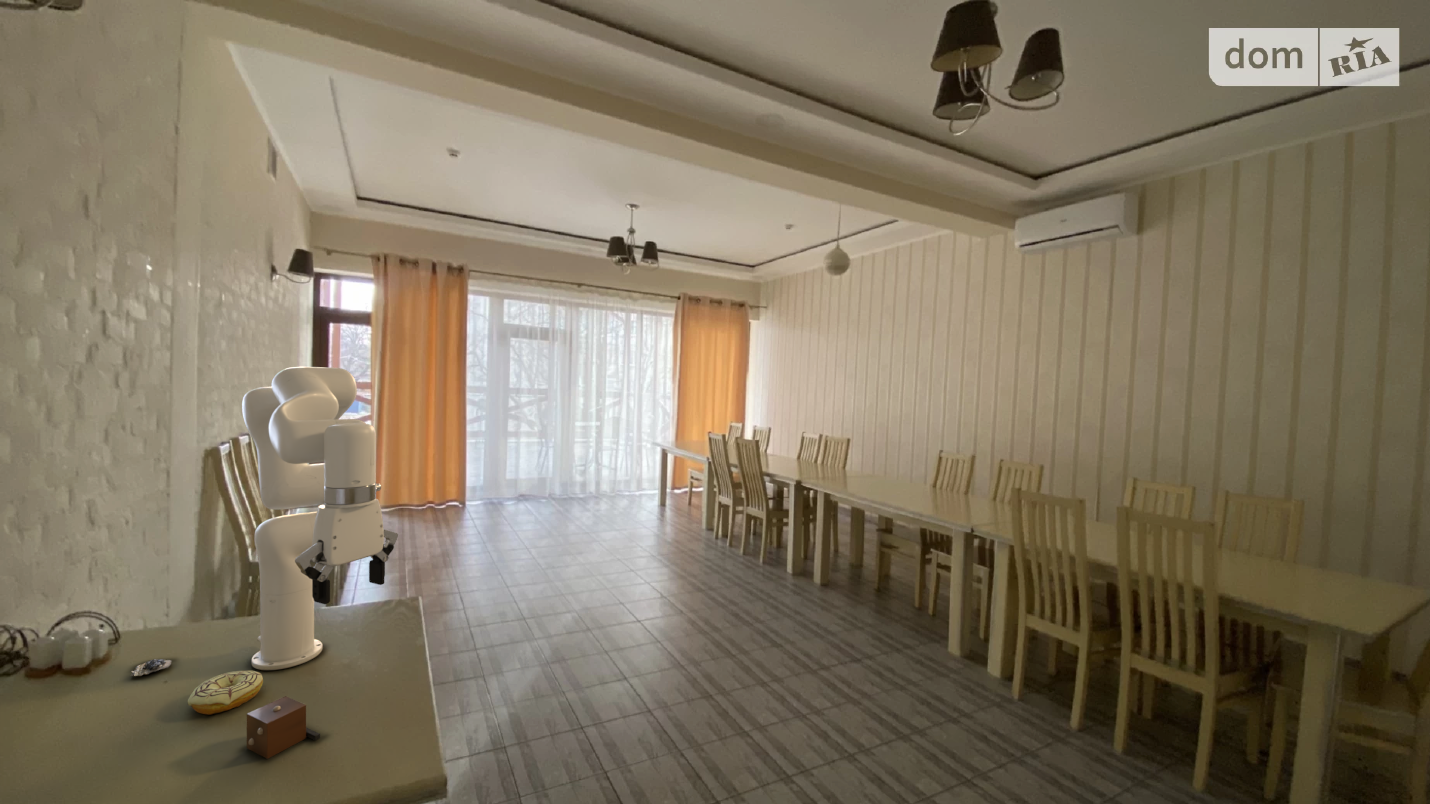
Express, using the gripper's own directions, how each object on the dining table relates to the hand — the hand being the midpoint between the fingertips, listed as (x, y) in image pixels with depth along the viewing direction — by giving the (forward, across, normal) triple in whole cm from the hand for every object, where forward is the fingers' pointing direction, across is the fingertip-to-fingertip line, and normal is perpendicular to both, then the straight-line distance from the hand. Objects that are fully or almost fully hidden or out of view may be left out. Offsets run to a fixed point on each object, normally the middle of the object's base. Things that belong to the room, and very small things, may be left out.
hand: (350, 592), depth 98 cm
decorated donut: (+26, +3, -31) cm, 41 cm away
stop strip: (+26, +3, -9) cm, 27 cm away
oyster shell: (+26, +3, -58) cm, 64 cm away
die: (+26, +6, -9) cm, 28 cm away
